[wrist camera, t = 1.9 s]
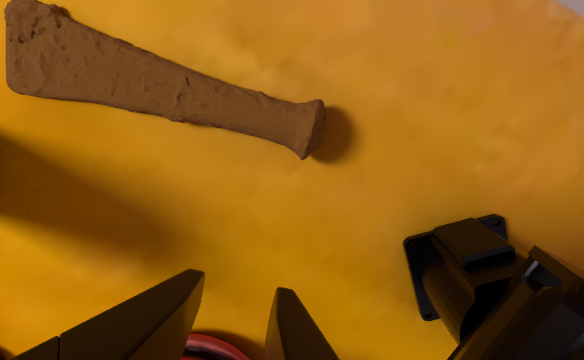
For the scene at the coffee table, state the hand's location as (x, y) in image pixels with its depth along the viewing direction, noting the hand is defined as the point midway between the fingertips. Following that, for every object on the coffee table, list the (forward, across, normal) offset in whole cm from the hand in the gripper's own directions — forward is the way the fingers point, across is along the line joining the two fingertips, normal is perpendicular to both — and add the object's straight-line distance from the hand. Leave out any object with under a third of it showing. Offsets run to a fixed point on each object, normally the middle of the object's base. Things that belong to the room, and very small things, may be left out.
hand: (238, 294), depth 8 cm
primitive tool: (+14, +8, -3) cm, 16 cm away
